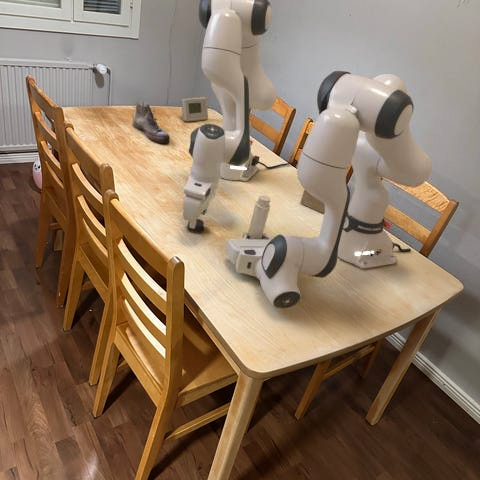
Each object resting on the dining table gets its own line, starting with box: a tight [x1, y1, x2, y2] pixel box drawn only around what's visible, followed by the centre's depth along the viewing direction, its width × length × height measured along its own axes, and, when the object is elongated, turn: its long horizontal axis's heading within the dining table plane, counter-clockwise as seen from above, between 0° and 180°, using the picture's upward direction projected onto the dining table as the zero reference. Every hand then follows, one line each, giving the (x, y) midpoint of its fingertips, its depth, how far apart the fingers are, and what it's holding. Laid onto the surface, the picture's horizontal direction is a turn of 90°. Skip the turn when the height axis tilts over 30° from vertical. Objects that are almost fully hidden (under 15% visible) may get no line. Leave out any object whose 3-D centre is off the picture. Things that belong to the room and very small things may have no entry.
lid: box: [187, 218, 205, 234], centre depth 138 cm, size 5×5×2 cm
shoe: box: [132, 101, 171, 145], centre depth 195 cm, size 25×11×12 cm, turn 30°
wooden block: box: [300, 188, 325, 214], centre depth 165 cm, size 10×10×20 cm
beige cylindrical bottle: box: [247, 194, 271, 239], centre depth 130 cm, size 4×4×18 cm
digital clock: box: [181, 96, 209, 123], centre depth 223 cm, size 16×9×11 cm, turn 123°
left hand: (197, 220), depth 137 cm, fingers open, 8 cm apart
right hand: (253, 234), depth 132 cm, fingers closed on beige cylindrical bottle, 4 cm apart
